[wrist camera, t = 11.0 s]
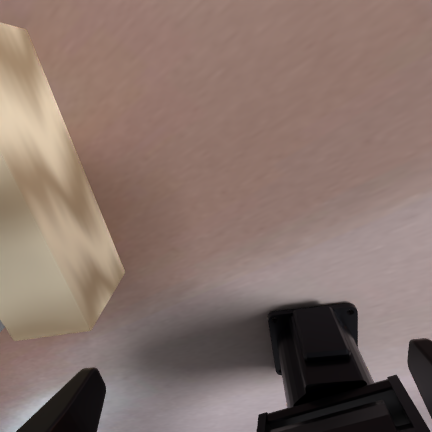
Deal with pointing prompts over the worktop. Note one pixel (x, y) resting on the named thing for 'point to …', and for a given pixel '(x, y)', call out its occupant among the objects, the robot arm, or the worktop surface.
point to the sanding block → (45, 209)
